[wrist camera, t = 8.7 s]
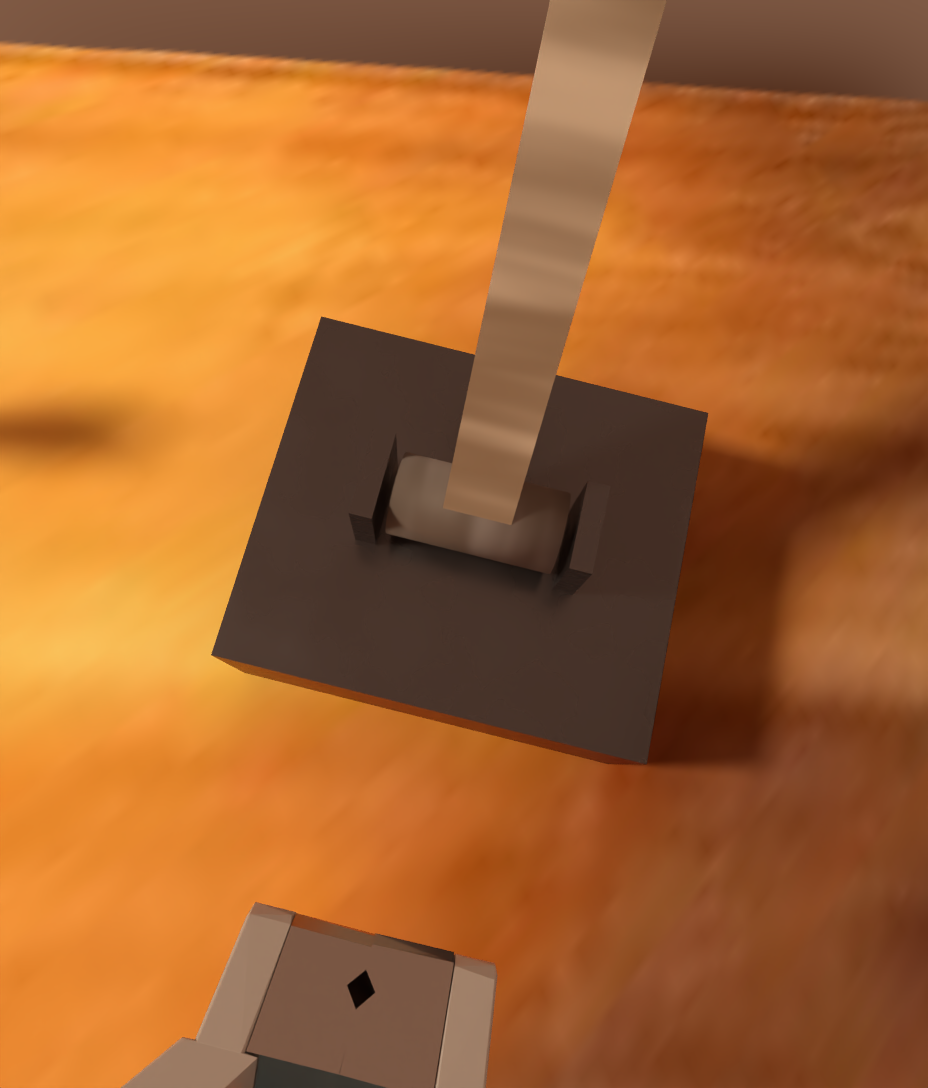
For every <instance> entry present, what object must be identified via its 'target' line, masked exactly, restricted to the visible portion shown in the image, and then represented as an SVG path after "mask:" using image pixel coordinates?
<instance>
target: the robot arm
mask: <svg viewBox="0 0 928 1088" xmlns="http://www.w3.org/2000/svg"><path fill="white" fill-rule="evenodd" d="M496 983H497V972H496V967H495V963H491V962H487V961H483V960H479V959H475V958H471V957H467V956H462V955H458V954H454V952H451V951H447V950H443V949H439V948H434V947H430V946H426V945H422V944H418V943H413V942H409V941H405V940H401V939H397V938H393V937H388V936H384V935H380V934H376V933H375V934H373V933H369V932H365V931H362V930H358V929H354V928H350V927H346V926H343V925H339V924H335V923H331V922H327V921H324V920H320V919H316V918H312V917H309V916H305V915H301V914H297V913H296V912H293V911H289V910H285V909H281V908H277V907H273V906H269V905H265V904H261V903H257V902H255V904H254V905H253V907H252V909H251V910H250V912H249V913H248V915H247V917H246V919H245V921H244V924H243V926H242V929H241V931H240V933H239V936H238V938H237V941H236V943H235V945H234V948H233V950H232V953H231V955H230V957H229V960H228V962H227V965H226V967H225V969H224V972H223V974H222V977H221V979H220V981H219V984H218V986H217V988H216V991H215V993H214V996H213V998H212V1000H211V1003H210V1005H209V1008H208V1010H207V1012H206V1015H205V1017H204V1020H203V1022H202V1024H201V1027H200V1029H199V1032H198V1034H197V1036H196V1039H195V1040H194V1039H189V1038H184V1037H182V1038H181V1039H180V1040H178V1041H177V1042H176V1043H175V1044H173V1045H172V1046H171V1047H170V1048H169V1049H167V1050H166V1051H165V1052H164V1053H163V1054H161V1055H160V1056H159V1057H158V1058H156V1059H155V1060H154V1061H153V1062H152V1063H150V1064H149V1065H148V1066H147V1067H145V1068H144V1069H143V1070H142V1071H141V1072H139V1073H138V1074H137V1075H136V1076H135V1077H133V1078H132V1079H131V1080H130V1081H128V1082H127V1083H126V1084H125V1085H124V1086H122V1087H121V1088H486V1078H487V1069H488V1059H489V1050H490V1040H491V1030H492V1021H493V1011H494V1002H495V992H496Z"/></svg>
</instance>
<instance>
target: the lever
mask: <svg viewBox="0 0 928 1088" xmlns="http://www.w3.org/2000/svg"><path fill="white" fill-rule="evenodd" d="M666 1H667V0H550V4H549V9H548V13H547V18H546V22H545V28H544V32H543V37H542V41H541V46H540V51H539V56H538V60H537V65H536V70H535V74H534V79H533V84H532V89H531V93H530V98H529V103H528V107H527V112H526V117H525V122H524V126H523V131H522V136H521V141H520V145H519V150H518V155H517V159H516V164H515V169H514V174H513V178H512V183H511V188H510V193H509V197H508V202H507V207H506V211H505V216H504V221H503V226H502V230H501V235H500V240H499V245H498V249H497V254H496V259H495V263H494V268H493V273H492V278H491V282H490V287H489V292H488V297H487V301H486V306H485V311H484V316H483V320H482V325H481V330H480V334H479V339H478V344H477V349H476V353H475V358H474V363H473V368H472V372H471V377H470V382H469V386H468V391H467V396H466V401H465V405H464V410H463V415H462V420H461V424H460V429H459V434H458V438H457V443H456V448H455V453H454V457H453V462H452V463H449V462H445V461H441V460H437V459H433V458H429V457H425V456H421V455H417V454H413V453H409V452H405V454H404V456H403V458H402V460H401V463H400V466H399V469H398V472H397V476H396V479H395V483H394V487H393V491H392V495H391V499H390V504H389V508H388V514H387V520H386V529H385V531H386V534H390V535H394V536H398V537H402V538H406V539H410V540H414V541H418V542H422V543H426V544H430V545H434V546H438V547H442V548H446V549H450V550H454V551H458V552H462V553H466V554H470V555H474V556H478V557H482V558H486V559H490V560H494V561H498V562H502V563H506V564H510V565H514V566H518V567H522V568H526V569H530V570H534V571H538V572H542V573H546V574H550V573H551V571H552V569H553V567H554V565H555V562H556V559H557V556H558V553H559V550H560V546H561V543H562V539H563V535H564V531H565V527H566V523H567V518H568V513H569V507H570V499H571V494H570V493H569V492H565V491H561V490H557V489H553V488H549V487H545V486H541V485H537V484H533V483H529V482H525V477H526V474H527V471H528V467H529V464H530V460H531V457H532V454H533V450H534V447H535V444H536V440H537V437H538V433H539V430H540V427H541V423H542V420H543V417H544V413H545V410H546V406H547V403H548V400H549V396H550V393H551V390H552V386H553V383H554V379H555V376H556V373H557V369H558V366H559V363H560V359H561V356H562V352H563V349H564V346H565V342H566V339H567V336H568V332H569V329H570V325H571V322H572V319H573V315H574V312H575V309H576V305H577V302H578V298H579V295H580V292H581V288H582V285H583V282H584V278H585V275H586V271H587V268H588V265H589V261H590V258H591V254H592V251H593V248H594V244H595V241H596V238H597V234H598V231H599V227H600V224H601V221H602V217H603V214H604V211H605V207H606V204H607V200H608V197H609V194H610V190H611V187H612V184H613V180H614V177H615V173H616V170H617V167H618V163H619V160H620V157H621V153H622V150H623V146H624V143H625V140H626V136H627V133H628V130H629V126H630V123H631V119H632V116H633V113H634V109H635V106H636V103H637V99H638V96H639V92H640V89H641V86H642V82H643V79H644V76H645V72H646V69H647V65H648V62H649V59H650V55H651V52H652V48H653V45H654V41H655V38H656V34H657V32H658V28H659V25H660V21H661V18H662V15H663V11H664V8H665V5H666Z"/></svg>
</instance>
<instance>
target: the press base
mask: <svg viewBox="0 0 928 1088" xmlns="http://www.w3.org/2000/svg"><path fill="white" fill-rule="evenodd" d="M474 358H475V355H473V354H469V353H465V352H461V351H457V350H453V349H449V348H445V347H441V346H437V345H433V344H429V343H425V342H421V341H417V340H413V339H409V338H405V337H401V336H397V335H393V334H389V333H385V332H381V331H377V330H373V329H369V328H365V327H361V326H357V325H353V324H349V323H345V322H341V321H337V320H333V319H329V318H325V317H321V319H320V322H319V326H318V329H317V332H316V335H315V338H314V341H313V344H312V347H311V350H310V353H309V356H308V359H307V362H306V365H305V369H304V372H303V375H302V378H301V381H300V384H299V387H298V390H297V393H296V396H295V399H294V402H293V405H292V408H291V412H290V415H289V418H288V421H287V424H286V427H285V430H284V433H283V436H282V439H281V442H280V445H279V448H278V451H277V455H276V458H275V461H274V464H273V467H272V470H271V473H270V476H269V479H268V482H267V485H266V488H265V491H264V494H263V498H262V501H261V504H260V507H259V510H258V513H257V516H256V519H255V522H254V525H253V528H252V531H251V534H250V537H249V541H248V544H247V547H246V550H245V553H244V556H243V559H242V562H241V565H240V568H239V571H238V574H237V577H236V580H235V584H234V587H233V590H232V593H231V596H230V599H229V602H228V605H227V608H226V611H225V614H224V617H223V620H222V623H221V627H220V630H219V633H218V636H217V639H216V642H215V645H214V648H213V651H212V654H211V655H212V656H214V657H216V658H218V659H219V660H221V661H223V662H225V663H227V664H229V665H231V666H233V667H235V668H237V669H238V670H240V671H242V672H244V673H248V674H252V675H256V676H260V677H264V678H268V679H271V680H275V681H279V682H283V683H287V684H291V685H295V686H299V687H303V688H307V689H311V690H315V691H319V692H323V693H327V694H331V695H335V696H339V697H343V698H347V699H351V700H355V701H359V702H363V703H367V704H371V705H375V706H379V707H383V708H387V709H391V710H395V711H399V712H403V713H407V714H411V715H415V716H419V717H423V718H427V719H431V720H435V721H439V722H443V723H447V724H451V725H455V726H459V727H463V728H467V729H471V730H475V731H479V732H483V733H486V734H490V735H494V736H498V737H502V738H506V739H510V740H514V741H518V742H522V743H526V744H530V745H534V746H538V747H542V748H546V749H550V750H554V751H558V752H562V753H566V754H570V755H574V756H578V757H582V758H586V759H590V760H594V761H598V762H602V763H606V764H647V759H648V753H649V747H650V742H651V736H652V730H653V725H654V719H655V713H656V708H657V702H658V696H659V690H660V685H661V679H662V673H663V668H664V662H665V656H666V651H667V645H668V639H669V634H670V628H671V622H672V616H673V611H674V605H675V599H676V594H677V588H678V582H679V577H680V571H681V565H682V560H683V554H684V548H685V542H686V537H687V531H688V525H689V520H690V514H691V508H692V503H693V497H694V491H695V486H696V480H697V474H698V468H699V463H700V457H701V451H702V446H703V440H704V434H705V429H706V423H707V417H708V413H706V412H702V411H698V410H694V409H690V408H686V407H682V406H678V405H674V404H670V403H666V402H662V401H658V400H654V399H650V398H646V397H642V396H638V395H634V394H630V393H626V392H622V391H618V390H614V389H610V388H606V387H602V386H598V385H594V384H590V383H586V382H582V381H578V380H574V379H570V378H566V377H562V376H558V375H556V376H555V379H554V383H553V386H552V390H551V393H550V396H549V400H548V403H547V406H546V410H545V413H544V417H543V420H542V423H541V427H540V430H539V433H538V437H537V440H536V444H535V447H534V450H533V454H532V457H531V460H530V464H529V467H528V471H527V474H526V477H525V482H529V483H533V484H537V485H541V486H545V487H549V488H553V489H557V490H561V491H565V492H569V493H570V494H571V499H570V507H569V513H568V518H567V523H566V527H565V531H564V535H563V539H562V543H561V546H560V550H559V553H558V556H557V559H556V562H555V565H554V567H553V569H552V571H551V573H550V574H546V573H542V572H538V571H534V570H530V569H526V568H522V567H518V566H514V565H510V564H506V563H502V562H498V561H494V560H490V559H486V558H482V557H478V556H474V555H470V554H466V553H462V552H458V551H454V550H450V549H446V548H442V547H438V546H434V545H430V544H426V543H422V542H418V541H414V540H410V539H406V538H402V537H398V536H394V535H390V534H386V531H385V529H386V520H387V514H388V508H389V504H390V499H391V495H392V491H393V487H394V483H395V479H396V476H397V472H398V469H399V466H400V463H401V460H402V458H403V456H404V454H405V452H409V453H413V454H417V455H421V456H425V457H429V458H433V459H437V460H441V461H445V462H449V463H452V462H453V457H454V453H455V448H456V443H457V438H458V434H459V429H460V424H461V420H462V415H463V410H464V405H465V401H466V396H467V391H468V386H469V382H470V377H471V372H472V368H473V363H474Z"/></svg>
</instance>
